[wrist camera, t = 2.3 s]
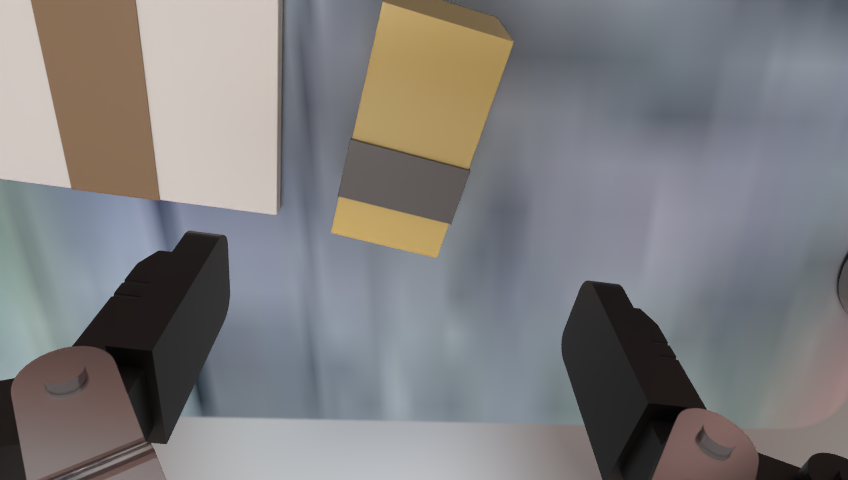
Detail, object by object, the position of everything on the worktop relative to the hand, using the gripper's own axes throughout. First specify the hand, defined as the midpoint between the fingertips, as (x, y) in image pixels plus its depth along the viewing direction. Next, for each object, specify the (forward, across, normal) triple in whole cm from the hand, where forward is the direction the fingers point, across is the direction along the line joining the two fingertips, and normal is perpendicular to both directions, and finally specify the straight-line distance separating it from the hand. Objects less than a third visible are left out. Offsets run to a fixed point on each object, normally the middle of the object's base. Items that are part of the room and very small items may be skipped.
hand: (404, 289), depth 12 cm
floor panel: (+14, +12, 0) cm, 18 cm away
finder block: (+14, 0, 0) cm, 14 cm away
